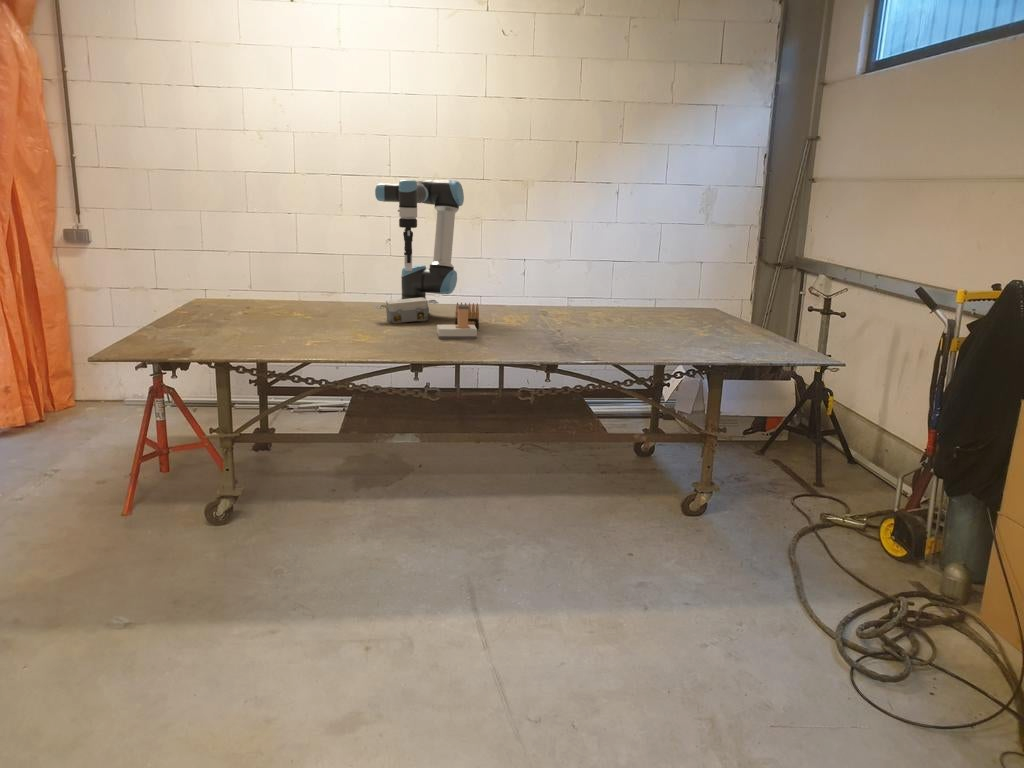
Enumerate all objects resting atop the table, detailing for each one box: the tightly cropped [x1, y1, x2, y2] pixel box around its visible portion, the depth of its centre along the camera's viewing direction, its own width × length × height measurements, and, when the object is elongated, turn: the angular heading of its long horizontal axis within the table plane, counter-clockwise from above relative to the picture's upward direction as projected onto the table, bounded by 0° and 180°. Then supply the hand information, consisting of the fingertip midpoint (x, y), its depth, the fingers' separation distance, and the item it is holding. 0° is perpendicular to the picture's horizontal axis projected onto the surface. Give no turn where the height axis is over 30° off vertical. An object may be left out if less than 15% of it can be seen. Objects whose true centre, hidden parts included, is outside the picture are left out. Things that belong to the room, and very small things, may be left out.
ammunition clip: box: [454, 302, 480, 331], centre depth 332 cm, size 11×2×12 cm, turn 86°
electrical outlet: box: [374, 297, 440, 324], centre depth 347 cm, size 12×28×10 cm, turn 110°
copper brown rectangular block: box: [457, 304, 469, 328], centre depth 317 cm, size 4×4×12 cm
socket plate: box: [436, 324, 478, 340], centre depth 318 cm, size 10×16×4 cm, turn 100°
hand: (408, 268), depth 320 cm, fingers open, 13 cm apart
